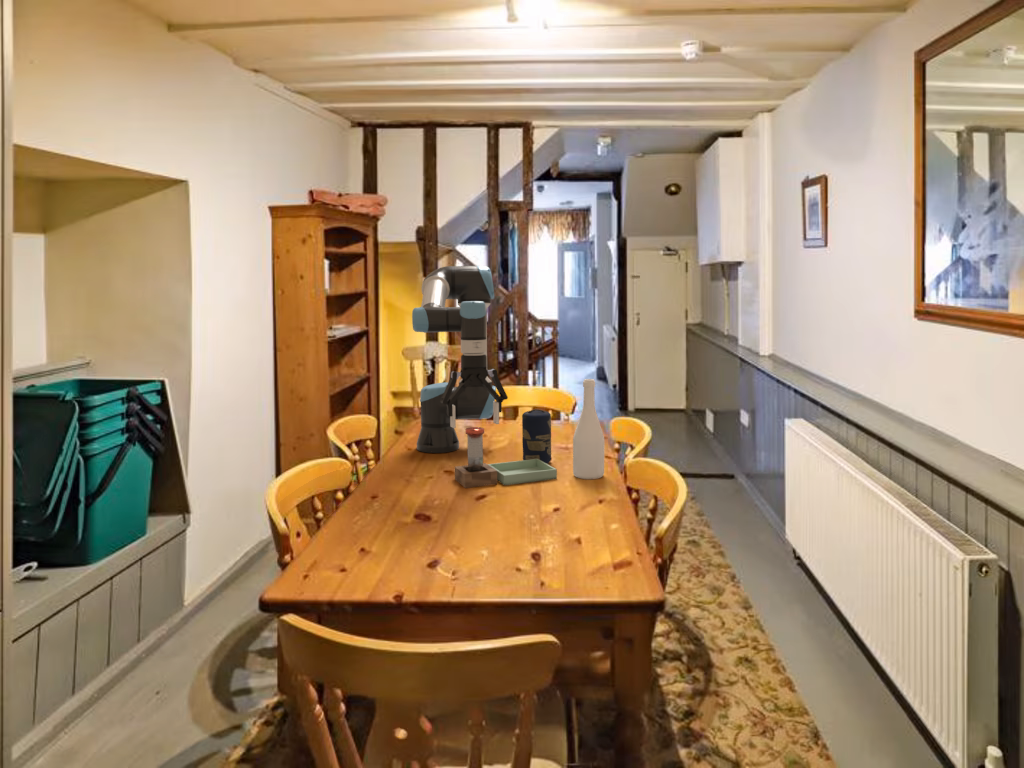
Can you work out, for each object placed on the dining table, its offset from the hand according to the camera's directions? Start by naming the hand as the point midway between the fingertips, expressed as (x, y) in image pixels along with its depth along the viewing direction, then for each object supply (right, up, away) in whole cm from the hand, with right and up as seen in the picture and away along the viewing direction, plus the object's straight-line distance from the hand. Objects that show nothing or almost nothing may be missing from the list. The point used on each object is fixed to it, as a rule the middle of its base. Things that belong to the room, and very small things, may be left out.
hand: (474, 425), depth 221 cm
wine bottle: (+35, -16, +8) cm, 39 cm away
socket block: (0, -17, +3) cm, 17 cm away
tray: (+14, -16, +9) cm, 23 cm away
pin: (0, -17, +3) cm, 17 cm away
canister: (+19, -14, +25) cm, 34 cm away
